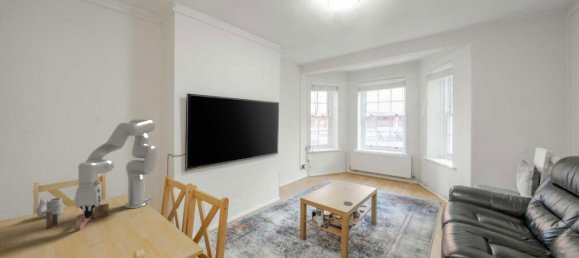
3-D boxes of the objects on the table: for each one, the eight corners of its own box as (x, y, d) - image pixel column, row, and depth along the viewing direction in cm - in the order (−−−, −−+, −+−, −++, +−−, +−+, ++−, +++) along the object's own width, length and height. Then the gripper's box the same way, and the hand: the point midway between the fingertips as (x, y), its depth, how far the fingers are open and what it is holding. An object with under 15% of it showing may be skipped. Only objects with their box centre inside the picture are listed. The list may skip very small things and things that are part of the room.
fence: (108, 213, 142) (108, 200, 141) (108, 215, 139) (108, 202, 139) (47, 226, 124) (46, 211, 124) (46, 229, 121) (45, 213, 121)
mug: (66, 213, 140) (66, 194, 139) (41, 221, 129) (40, 201, 128) (59, 211, 142) (58, 193, 142) (33, 219, 131) (32, 199, 130)
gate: (88, 218, 133) (87, 207, 132) (91, 218, 133) (91, 206, 133) (76, 230, 120) (76, 216, 120) (80, 229, 121) (80, 216, 120)
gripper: (107, 181, 129) (107, 213, 130) (75, 183, 125) (75, 215, 126) (100, 185, 122) (101, 218, 123) (66, 187, 117) (67, 221, 118)
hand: (88, 217), depth 124 cm, fingers closed
